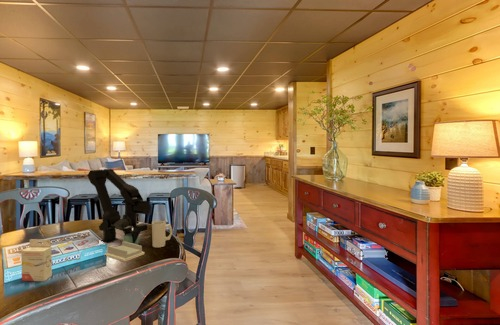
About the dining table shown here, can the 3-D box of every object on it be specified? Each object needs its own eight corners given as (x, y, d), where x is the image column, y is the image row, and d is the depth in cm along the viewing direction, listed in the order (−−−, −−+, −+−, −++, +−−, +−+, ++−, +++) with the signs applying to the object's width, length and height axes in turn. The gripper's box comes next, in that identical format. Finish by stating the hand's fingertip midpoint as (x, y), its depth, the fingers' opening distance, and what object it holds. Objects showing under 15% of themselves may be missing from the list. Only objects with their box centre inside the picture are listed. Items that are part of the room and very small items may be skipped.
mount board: (104, 255, 141) (104, 246, 141) (124, 248, 151) (124, 240, 151) (124, 261, 134) (124, 252, 134) (144, 254, 144) (144, 245, 144)
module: (128, 246, 155) (128, 235, 154) (123, 245, 157) (123, 234, 156) (138, 243, 160) (138, 232, 160) (133, 241, 162) (133, 231, 162)
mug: (151, 248, 152) (151, 224, 152) (152, 244, 159) (152, 221, 158) (172, 247, 155) (172, 223, 154) (172, 242, 161) (172, 220, 161)
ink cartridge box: (21, 281, 114) (19, 242, 113) (30, 275, 119) (29, 238, 118) (44, 281, 114) (43, 242, 114) (52, 275, 119) (51, 238, 118)
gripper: (105, 213, 155) (105, 243, 156) (129, 217, 146) (130, 249, 147) (124, 209, 165) (124, 237, 166) (148, 213, 155) (148, 243, 156)
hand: (131, 242), depth 158 cm, fingers closed on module, 4 cm apart
